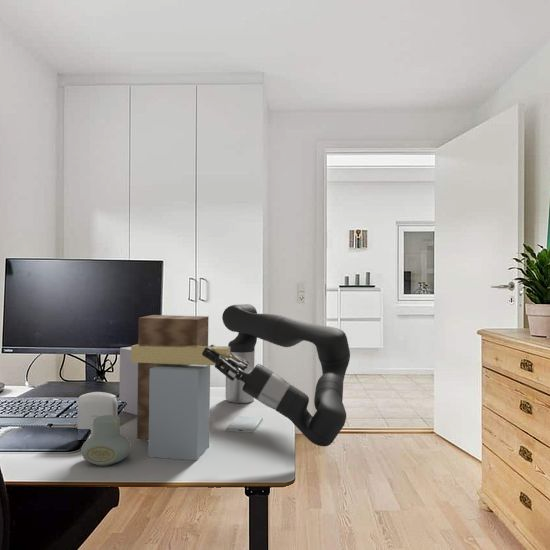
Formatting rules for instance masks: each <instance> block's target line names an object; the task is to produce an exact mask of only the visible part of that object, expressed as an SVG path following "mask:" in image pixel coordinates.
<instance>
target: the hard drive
mask: <svg viewBox="0 0 550 550" xmlns="http://www.w3.org/2000/svg"><path fill="white" fill-rule="evenodd" d="M262 423H263V417H261V416H249V415H245V416H244V415H237V416H235V417H234V419H232V421H231V422H230V423H229V424H228V425H227V426H226V428H225V431H226V432H233V431H236V433H237V432H238V433H249V432H252V433H251V434H254V433H256V432H257V430H258V429H257V428H259V427H260V425H261V424H262ZM255 431H256V432H255Z"/></svg>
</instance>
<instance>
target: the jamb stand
mask: <svg viewBox="0 0 550 550" xmlns="http://www.w3.org/2000/svg"><path fill="white" fill-rule="evenodd" d="M137 338H138V341H137V344H157V345H190V346H209V316H206V315H205V316H203V315H172V314H171V315H168V314H167V315H165V314H164V315H162V314H152V315H151V314H150V315H146V316H142V317H141V316H140V317H138V335H137ZM159 364H161V363H138V400H137V415H136V417H137V418H136V419H137V420H136V421H137V422H136V425H137V426H136V440H137V441H148V442H149V381H150V368H153V367H155V366H157V365H159Z"/></svg>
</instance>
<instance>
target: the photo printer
mask: <svg viewBox="0 0 550 550" xmlns="http://www.w3.org/2000/svg"><path fill="white" fill-rule="evenodd" d="M77 399H78V400H77V412H76V413H77V414H76V415H77V417H76V418H77V428H76V429H90V430H91V436H90V437H92V436H93V422H94V419H95V418H96V417H99V416H104V415H115V416H118V399H117V395H115V394H112V393H109V392H105V391H103V392H102V391H92V392H87V393H84V394H81V395H80V396H79V397H78V398H77Z"/></svg>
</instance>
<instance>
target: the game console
mask: <svg viewBox="0 0 550 550" xmlns="http://www.w3.org/2000/svg"><path fill="white" fill-rule="evenodd" d="M118 395H119V396H118V398H119V399H122V400H124V401H125V402H126V403H127V405H126V407H125V408H124V410H122V412H124V413H128V414H132V415H135V416H137V400H138V363H135V362H131V346H127V347H120V348H119V393H118ZM119 399H118V400H119Z"/></svg>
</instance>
